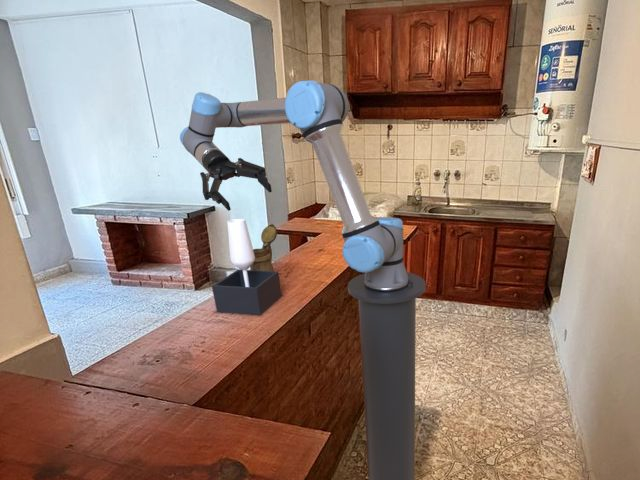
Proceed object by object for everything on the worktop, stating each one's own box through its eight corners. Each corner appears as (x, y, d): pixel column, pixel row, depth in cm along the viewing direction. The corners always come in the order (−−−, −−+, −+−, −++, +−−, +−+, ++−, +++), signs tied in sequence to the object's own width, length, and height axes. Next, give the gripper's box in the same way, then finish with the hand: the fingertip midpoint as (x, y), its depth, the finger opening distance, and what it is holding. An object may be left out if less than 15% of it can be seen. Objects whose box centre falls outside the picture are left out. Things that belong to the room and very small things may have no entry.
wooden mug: (290, 274, 140) (283, 224, 134) (266, 288, 129) (258, 234, 122) (269, 272, 144) (262, 223, 137) (244, 285, 132) (235, 232, 125)
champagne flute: (248, 306, 114) (234, 224, 104) (233, 302, 117) (218, 221, 108) (266, 298, 119) (254, 219, 110) (251, 294, 122) (238, 217, 113)
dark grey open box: (281, 295, 123) (278, 271, 120) (260, 315, 111) (256, 288, 108) (241, 293, 126) (237, 269, 123) (216, 311, 113) (211, 286, 110)
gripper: (251, 156, 133) (287, 191, 125) (178, 184, 121) (213, 224, 113) (247, 136, 127) (285, 171, 119) (170, 164, 115) (206, 204, 107)
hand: (250, 197), depth 116 cm, fingers open, 13 cm apart
